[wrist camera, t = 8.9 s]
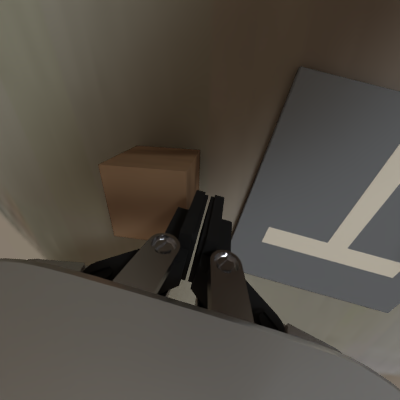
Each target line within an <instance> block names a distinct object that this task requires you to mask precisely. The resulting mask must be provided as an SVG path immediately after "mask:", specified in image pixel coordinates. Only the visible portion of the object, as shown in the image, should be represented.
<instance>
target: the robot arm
mask: <svg viewBox="0 0 400 400" xmlns="http://www.w3.org/2000/svg"><path fill="white" fill-rule="evenodd" d="M205 193H206V192H203V191H199V190H197V191H196V193H195V196H194V198H193V201H192V203H191V206H190V208H189V210H188V209H184V208H181V207H178V208H177V210H176V212H175V214H174V216H173V218H172V220H171V222H170V224H169V226H168V227H167V229H166V231H165V233H158V234H155V235H153V236H152V237H150V238H149V239H148V241H147V242H146V243H145V244H144V245H143V246H142V247H141V249H137V250H134V251H131V252H128V253H124V254H121V255H118V256H115V257H111V258H108V259H105V260H101V261H98V262H95V263H93V264H91V265H89V266H85V263H80V262H68V261H56V260H42V259H29V260H22V259H6V258H5V259H0V400H400V389H399V388H397V387H396V386H395V385H394V384H392V383H391V382H390V381H388V380H387V379H385V378H384V377H382V376H381V375H379V374H378V373H377V372H375V371H374V370H372V369H371V368H369V367H367V366H365V365H364V364H362V363H360V362H358V361H356V360H355V359H353V358H351V357H349V356H346V355H344V354H342V353H341V352H340V351H339V350H337V349H336V348H334V347H332V346H330V345H328V344H326V343H325V342H323V341H321V340H319V339H317V338H315V337H313V336H311V335H309V334H308V333H306V332H304V331H302V330H300V329H298V328H296V327H294V326H292V325H291V324H289V323H288V324H287V325H285V324H283V323H282V321H281V320H280V318H279V317H278V316H277V314H276V313H275V312H274V311H273V310H272V309H271V308H270V307H269V305H268V304H267V303H266V302H265V301H264V300H263V299H262V298H261V297H260V295H259V294H258V293H257V292H256V291H255V290H254V289H253V288H252V287H251V285H250V284H249V283H248V282H247V281H246V280H245V276H244V271H243V266H242V263H241V261H240V259H239V258H238V257H237V256H236V255H235V254H234V253H232V252H231V232H232V222H230V221H227V220H223V219H222V212H223V204H224V197H221V196H217V195H215V197H212V196H211V199H210V202H209V206H208V209H207V213H206V216H205V219H204V223H203V226H202V230H201V233H200V237H199V241H198V245H197V249H196V253H195V257H194V260H193V264H192V268H191V272H190V276H189V280H188V281H189V282H192V285H191V289H192V291H193V292H194V294H195V295H196V300H195V305H191V304H188V303H185V302H181V301H178V300H175V299H171V298H168V295H169V292H170V289H172V288H174V287H176V286H179V284H180V281H181V279H182V280H185V278H186V275H187V271H188V268H189V264H190V261H191V257H192V253H193V250H194V246H195V243H196V239H197V236H198V232H199V228H200V225H201V221H202V217H203V214H204V210H205V206H206V203H207V199H208V195H205Z"/></svg>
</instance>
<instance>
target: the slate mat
mask: <svg viewBox="0 0 400 400" xmlns="http://www.w3.org/2000/svg"><path fill="white" fill-rule="evenodd" d="M231 252H232V253H234V254H235V255H236V256H237V257H238V258H239V259H240V261H241V263H242V266H243V271H244V273H247V274H251V275H254V276H258V277H261V278H265V279H268V280H272V281H276V282H279V283H283V284H286V285H290V286H293V287H297V288H300V289H304V290H308V291H311V292H315V293H318V294H322V295H325V296H329V297H332V298H336V299H340V300H343V301H347V302H350V303H354V304H357V305H361V306H364V307H368V308H372V309H375V310H379V311H382V312H386V313H388V312H390V311H391V310H392V309H393V308H395V307H396V306H397V305H398V304H399V303H400V91H396V90H392V89H388V88H384V87H380V86H376V85H372V84H368V83H364V82H360V81H356V80H352V79H348V78H344V77H340V76H337V75H333V74H329V73H325V72H321V71H317V70H313V69H309V68H305V67H299V69H298V71H297V74H296V76H295V79H294V82H293V84H292V87H291V89H290V92H289V94H288V97H287V99H286V102H285V104H284V107H283V109H282V112H281V114H280V117H279V119H278V122H277V124H276V127H275V129H274V132H273V134H272V137H271V139H270V142H269V144H268V147H267V150H266V152H265V155H264V157H263V160H262V162H261V165H260V167H259V170H258V172H257V175H256V177H255V180H254V182H253V185H252V187H251V190H250V192H249V195H248V197H247V200H246V202H245V205H244V207H243V210H242V212H241V215H240V217H239V220H238V223H237V225H236V228H235V230H234V233H233V235H232V238H231Z"/></svg>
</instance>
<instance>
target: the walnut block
mask: <svg viewBox="0 0 400 400" xmlns="http://www.w3.org/2000/svg"><path fill="white" fill-rule="evenodd" d="M98 166H99V170H100V174H101V179H102V183H103V188H104V192H105V197H106V201H107V205H108V210H109V214H110V219H111V223H112V228H113V232H114V236H119V237H127V238H135V239H143V240H148V239H149V238H150V237H152V236H153V235H155V234H158V233H165V231H166V229H167V227H168V226H169V224H170V222H171V220H172V218H173V216H174V214H175V212H176V210H177V208H178V207H181V208H184V209H188V210H189V208H190V206H191V203H192V201H193V198H194V196H195V193H196V191H197V190H199V169H200V150H195V149H179V148H164V147H148V146H135V147H133V148H131V149H129V150H127V151H125V152H123V153H121V154H119V155H117V156H115V157H113V158H111V159H109V160H107V161H105V162H102V163H100V164H98Z"/></svg>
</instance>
